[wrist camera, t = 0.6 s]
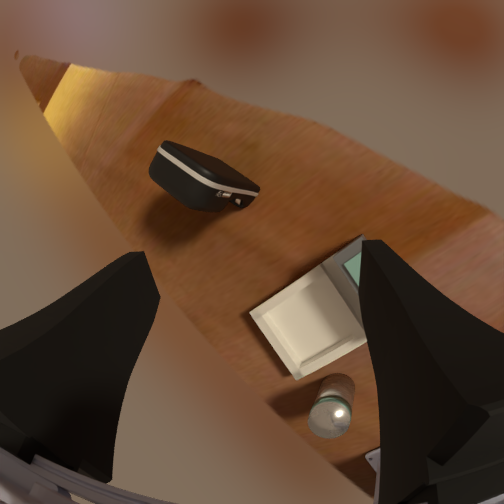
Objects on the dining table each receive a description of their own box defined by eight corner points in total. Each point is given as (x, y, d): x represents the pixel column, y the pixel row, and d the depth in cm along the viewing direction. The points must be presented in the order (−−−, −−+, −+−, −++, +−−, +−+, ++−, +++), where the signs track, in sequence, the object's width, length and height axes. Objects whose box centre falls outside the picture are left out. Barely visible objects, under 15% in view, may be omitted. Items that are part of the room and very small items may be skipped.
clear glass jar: (361, 393, 32) (357, 428, 25) (331, 408, 33) (320, 444, 26) (343, 366, 32) (336, 398, 26) (313, 382, 34) (299, 415, 27)
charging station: (411, 305, 29) (420, 324, 23) (300, 371, 34) (286, 399, 28) (364, 232, 30) (363, 234, 24) (256, 307, 35) (233, 324, 29)
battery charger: (199, 184, 36) (134, 173, 26) (216, 157, 35) (155, 134, 25) (245, 218, 35) (189, 217, 24) (264, 189, 34) (214, 175, 23)
